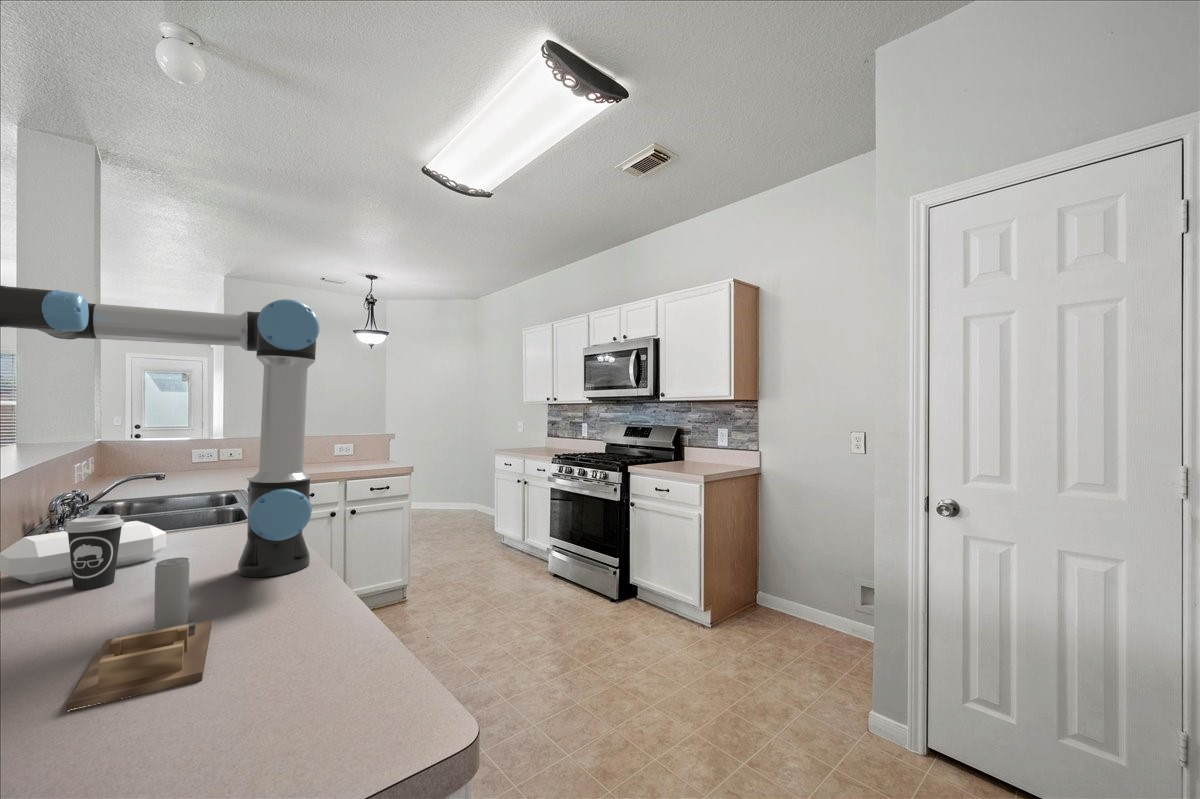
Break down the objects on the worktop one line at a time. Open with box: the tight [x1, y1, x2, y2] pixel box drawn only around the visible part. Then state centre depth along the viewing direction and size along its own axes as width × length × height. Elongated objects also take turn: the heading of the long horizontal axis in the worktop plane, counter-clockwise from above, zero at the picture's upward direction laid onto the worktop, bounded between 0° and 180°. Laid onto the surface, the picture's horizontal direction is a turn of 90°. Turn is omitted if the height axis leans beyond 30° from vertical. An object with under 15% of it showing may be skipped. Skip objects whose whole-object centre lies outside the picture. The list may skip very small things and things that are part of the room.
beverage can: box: [153, 557, 190, 630], centre depth 93 cm, size 5×5×12 cm
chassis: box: [66, 620, 212, 711], centre depth 80 cm, size 14×22×5 cm, turn 35°
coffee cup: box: [64, 514, 125, 591], centre depth 114 cm, size 10×10×15 cm
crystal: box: [0, 520, 167, 585], centre depth 126 cm, size 14×10×28 cm
